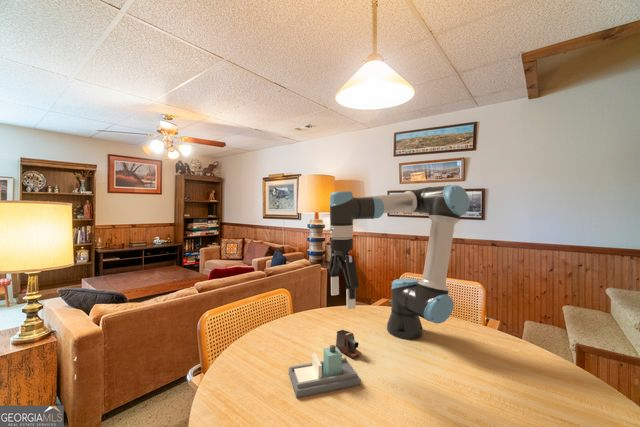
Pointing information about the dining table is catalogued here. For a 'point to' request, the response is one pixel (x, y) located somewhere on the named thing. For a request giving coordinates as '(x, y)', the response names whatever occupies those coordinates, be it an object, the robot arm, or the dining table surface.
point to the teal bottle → (332, 362)
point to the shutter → (309, 371)
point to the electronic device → (347, 343)
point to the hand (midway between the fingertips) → (342, 301)
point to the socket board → (324, 381)
